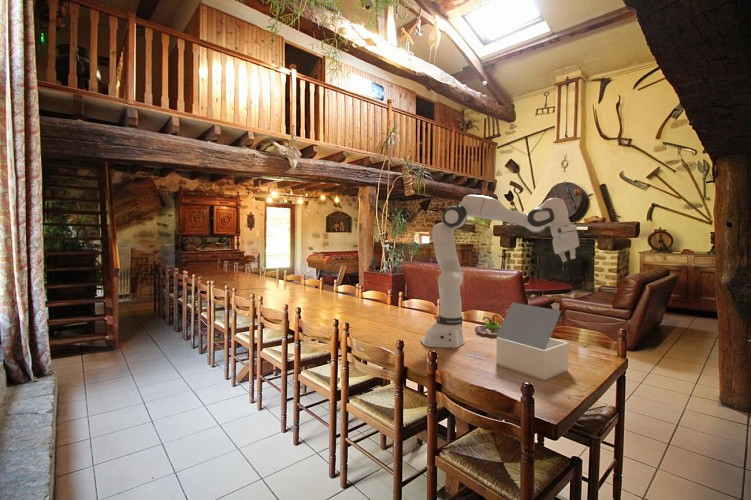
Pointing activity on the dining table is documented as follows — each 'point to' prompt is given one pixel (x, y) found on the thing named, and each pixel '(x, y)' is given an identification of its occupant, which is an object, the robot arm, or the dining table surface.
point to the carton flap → (529, 325)
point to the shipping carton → (534, 358)
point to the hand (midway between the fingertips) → (568, 260)
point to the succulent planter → (488, 328)
